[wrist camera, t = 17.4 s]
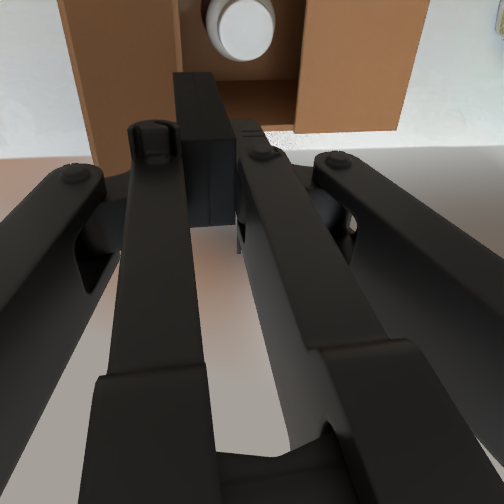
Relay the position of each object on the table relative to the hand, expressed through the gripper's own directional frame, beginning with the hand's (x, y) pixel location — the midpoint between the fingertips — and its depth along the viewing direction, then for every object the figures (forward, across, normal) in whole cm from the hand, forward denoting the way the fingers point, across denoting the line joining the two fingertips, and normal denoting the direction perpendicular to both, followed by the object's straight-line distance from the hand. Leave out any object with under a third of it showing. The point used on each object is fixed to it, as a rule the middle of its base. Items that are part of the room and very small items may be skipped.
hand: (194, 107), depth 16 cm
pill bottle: (+25, +5, 0) cm, 26 cm away
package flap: (+9, -3, 0) cm, 9 cm away
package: (+26, +8, 0) cm, 27 cm away
